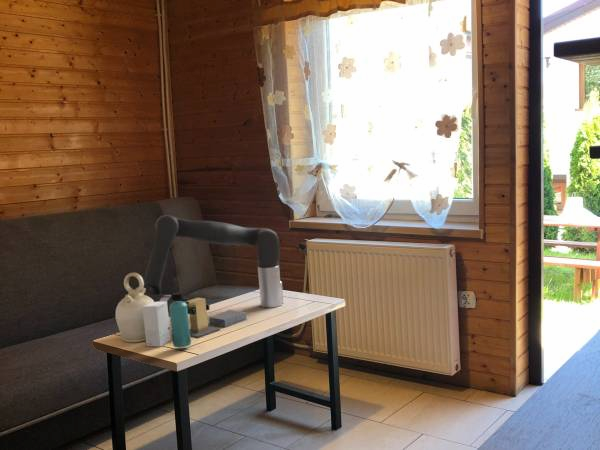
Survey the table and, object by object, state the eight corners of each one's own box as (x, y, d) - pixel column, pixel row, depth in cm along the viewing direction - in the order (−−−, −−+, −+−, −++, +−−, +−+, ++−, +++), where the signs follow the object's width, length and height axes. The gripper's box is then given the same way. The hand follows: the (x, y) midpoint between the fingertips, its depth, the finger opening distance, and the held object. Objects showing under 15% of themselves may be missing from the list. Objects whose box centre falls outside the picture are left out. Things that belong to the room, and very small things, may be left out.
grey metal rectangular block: (230, 317, 264) (230, 309, 264) (246, 319, 258) (246, 312, 258) (209, 324, 255) (208, 317, 255) (225, 327, 249) (224, 319, 249)
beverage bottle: (195, 347, 226) (190, 291, 224) (180, 352, 221) (174, 295, 219) (184, 344, 231) (179, 289, 228) (169, 349, 226) (163, 293, 223)
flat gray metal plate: (200, 326, 253) (200, 325, 253) (220, 330, 246) (220, 328, 246) (179, 334, 245) (178, 332, 245) (198, 337, 238) (198, 336, 238)
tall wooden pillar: (200, 328, 248) (198, 297, 247) (208, 329, 246) (205, 298, 244) (191, 331, 245) (188, 300, 243) (198, 332, 242) (195, 301, 241)
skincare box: (160, 347, 229) (156, 306, 228) (145, 346, 231) (141, 306, 229) (171, 340, 237) (168, 300, 235) (157, 339, 239) (153, 300, 237)
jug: (138, 330, 254) (132, 267, 251) (168, 333, 246) (162, 269, 243) (109, 341, 241) (102, 276, 238) (139, 345, 233) (132, 277, 230)
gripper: (157, 299, 247) (186, 304, 237) (186, 291, 258) (215, 295, 248) (159, 318, 248) (188, 324, 238) (188, 309, 259) (216, 314, 249)
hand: (201, 309), depth 243 cm, fingers open, 6 cm apart
